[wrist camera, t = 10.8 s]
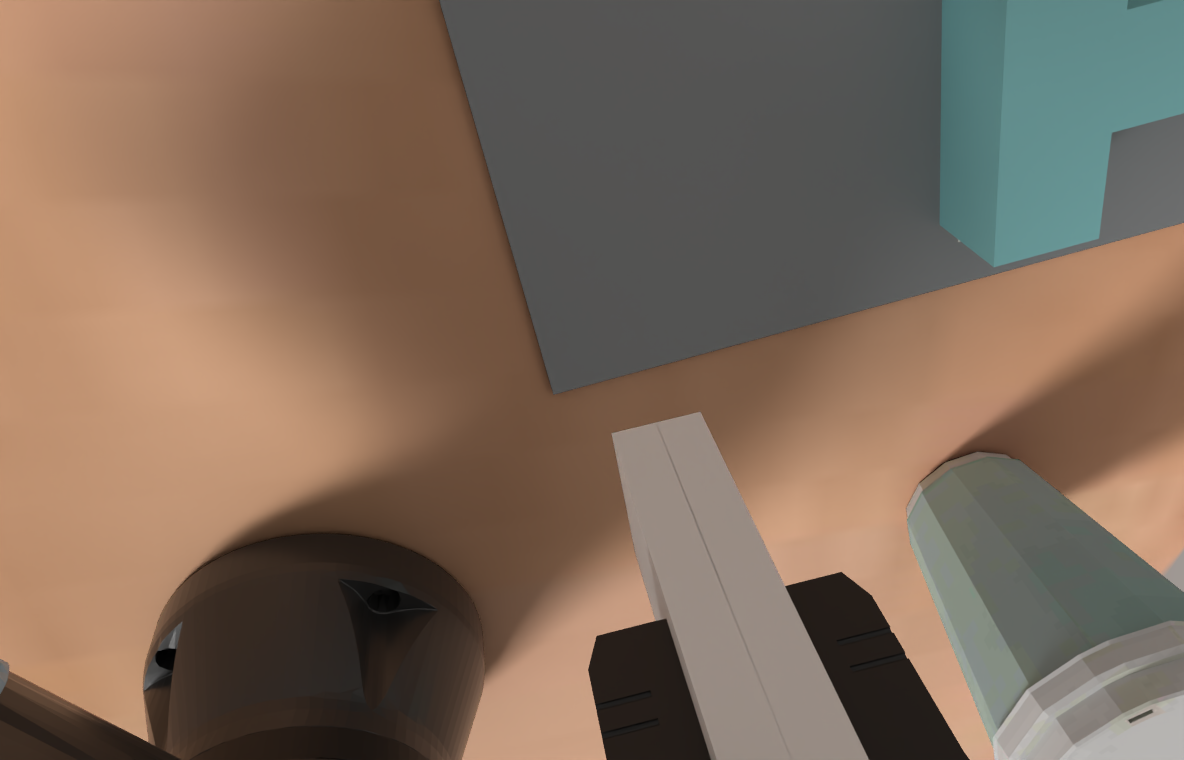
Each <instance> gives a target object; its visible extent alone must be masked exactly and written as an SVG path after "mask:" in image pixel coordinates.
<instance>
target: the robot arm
mask: <svg viewBox="0 0 1184 760" xmlns="http://www.w3.org/2000/svg"><path fill="white" fill-rule="evenodd" d="M612 438H613V443H614V448H615V453H616V459H617V464H618V469H619V474H620V479H621V484H622V489H623V494H624V499H625V504H626V509H627V514H628V519H629V524H630V529H631V534H632V540H633V545H634V550H635V554H636V557H637V561H638V564H639V567H640V570H641V574H642V577H643V580H644V584H645V587H646V590H647V594H648V597H649V600H650V604H651V607H652V610H653V613H654V617H655V620H656V621H654V622H650V623H646V624H642V625H638V626H634V627H630V628H626V629H623V630H619V631H615V632H611V633H607V634H603V635H599V636H597V637H596V641H595V645H594V649H593V653H592V657H591V661H590V665H589V669H588V671H589V676H590V681H591V686H592V691H593V695H594V700H595V705H596V709H597V715H598V720H599V725H600V729H601V734H602V738H603V744H604V749H605V754H606V759H607V760H970V759H969V758H968V757H967V755H966V754H965V753H964V751H963V750H962V748H961V746H960V745H959V743H958V741H957V740H956V738H955V736H954V734H953V733H952V731H951V729H950V728H949V726H948V724H947V723H946V721H945V719H944V717H943V716H942V714H941V712H940V711H939V709H938V707H937V706H936V704H935V702H934V701H933V699H932V697H931V695H930V694H929V692H928V690H927V689H926V687H925V685H924V684H923V682H922V680H921V679H920V677H919V675H918V673H917V672H916V670H915V668H914V667H913V665H912V663H911V662H910V660H909V659H907V658H906V655H905V651H904V650H903V648H902V646H901V645H900V643H899V641H898V640H897V638H896V636H895V634H894V633H892V632H891V630H890V626H889V624H888V623H887V621H886V619H885V618H884V616H883V614H882V612H881V611H880V609H879V607H878V606H877V604H876V602H875V601H874V599H873V597H872V595H870V594H869V593H868V592H866V591H865V590H864V589H863V588H861V587H860V586H859V585H857V584H856V583H855V582H854V581H852V580H851V579H850V578H848V577H847V576H846V575H845V574H843V573H842V572H839V573H836V574H832V575H828V576H824V577H820V578H816V579H812V580H808V581H804V582H800V583H796V584H792V585H788V586H785V585H784V583H783V581H782V579H781V577H780V575H779V573H778V571H777V569H776V567H775V565H774V563H773V561H772V559H771V556H770V554H769V552H768V550H767V548H766V546H765V544H764V542H763V540H762V538H761V536H760V534H759V532H758V530H757V528H756V525H755V523H754V521H753V519H752V517H751V515H750V513H749V511H748V509H747V507H746V505H745V503H744V501H743V499H742V497H741V494H740V492H739V490H738V488H737V486H736V484H735V482H734V480H733V478H732V476H731V474H730V472H729V470H728V468H727V466H726V464H725V461H724V459H723V457H722V455H721V453H720V451H719V449H718V447H717V445H716V443H715V441H714V439H713V437H712V435H711V433H710V430H709V428H708V426H707V424H706V422H705V420H704V418H703V416H702V414H701V412H697V413H693V414H689V415H685V416H680V417H676V418H672V419H668V420H664V421H660V422H656V423H652V424H647V425H643V426H639V427H635V428H631V429H627V430H623V431H618V432H614V433H612ZM484 676H485V660H484V647H483V634H482V627H481V622H480V618H479V616H478V613H477V610H476V608H475V606H474V604H473V602H472V601H471V599H470V597H469V596H468V594H467V593H466V592H465V590H464V589H463V588H462V587H461V586H460V584H459V583H458V582H457V581H456V580H455V579H454V578H453V577H452V576H450V575H449V574H448V573H447V572H446V571H444V570H443V569H442V568H440V567H439V566H437V565H436V564H434V563H433V562H431V561H430V560H428V559H426V558H424V557H423V556H420V555H418V554H416V553H414V552H412V551H410V550H407V549H405V548H402V547H400V546H397V545H394V544H391V543H387V542H383V541H380V540H375V539H371V538H366V537H359V536H353V535H342V534H305V535H294V536H287V537H281V538H275V539H270V540H266V541H262V542H258V543H255V544H252V545H249V546H246V547H243V548H240V549H238V550H235V551H233V552H231V553H228V554H226V555H224V556H222V557H220V558H218V559H216V560H214V561H213V562H211V563H209V564H208V565H206V566H204V567H203V568H201V569H200V570H199V571H197V572H196V573H195V574H193V575H192V576H191V577H190V578H189V579H187V580H186V581H185V582H184V583H183V584H182V585H181V586H180V587H179V588H178V589H177V591H176V592H175V593H174V594H173V595H172V597H171V598H170V600H169V601H168V602H167V604H166V606H165V607H164V609H163V611H162V613H161V615H160V618H159V620H158V623H157V626H156V629H155V632H154V635H153V639H152V642H151V645H150V648H149V651H148V654H147V658H146V662H145V668H144V675H143V695H144V704H145V713H146V722H147V732H148V741H149V743H148V742H146V741H144V740H143V739H141V738H139V737H137V736H135V735H133V734H131V733H129V732H127V731H125V730H123V729H121V728H119V727H117V726H115V725H113V724H111V723H109V722H107V721H105V720H104V719H102V718H100V717H98V716H96V715H94V714H92V713H90V712H88V711H86V710H84V709H82V708H80V707H78V706H76V705H74V704H72V703H70V702H68V701H66V700H65V699H63V698H61V697H59V696H57V695H55V694H53V693H51V692H49V691H47V690H45V689H43V688H41V687H39V686H37V685H35V684H33V683H31V682H29V681H27V680H25V679H24V678H22V677H20V676H18V675H16V674H14V673H12V672H10V671H9V664H8V663H7V662H5V661H3V660H1V659H0V760H462V757H463V754H464V750H465V747H466V744H467V741H468V738H469V734H470V731H471V728H472V725H473V721H474V718H475V715H476V712H477V708H478V705H479V702H480V698H481V695H482V691H483V685H484Z"/></svg>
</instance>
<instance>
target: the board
mask: <svg viewBox="0 0 1184 760" xmlns="http://www.w3.org/2000/svg"><path fill="white" fill-rule="evenodd" d="M439 1H440V5H441V8H442V12H443V15H444V19H445V22H446V25H447V29H448V32H449V36H450V39H451V43H452V46H453V50H454V53H455V57H456V60H457V63H458V67H459V70H460V74H461V77H462V81H463V84H464V88H465V91H466V95H467V98H468V101H469V105H470V108H471V112H472V115H473V119H474V122H475V126H476V129H477V132H478V136H479V139H480V143H481V146H482V150H483V153H484V157H485V160H486V164H487V167H488V170H489V174H490V177H491V181H492V184H493V188H494V191H495V195H496V198H497V201H498V205H499V208H500V212H501V215H502V219H503V222H504V226H505V229H506V233H507V236H508V239H509V243H510V246H511V250H512V253H513V257H514V260H515V264H516V267H517V271H518V274H519V277H520V281H521V284H522V288H523V291H524V295H525V298H526V302H527V305H528V308H529V312H530V315H531V319H532V322H533V326H534V329H535V333H536V336H537V340H538V343H539V346H540V350H541V353H542V357H543V360H544V364H545V367H546V371H547V374H548V378H549V381H550V384H551V388H552V391H553V395H554V394H558V393H562V392H565V391H569V390H573V389H576V388H580V387H584V386H587V385H591V384H595V383H598V382H602V381H606V380H609V379H613V378H617V377H620V376H624V375H628V374H631V373H635V372H639V371H642V370H646V369H650V368H653V367H657V366H661V365H664V364H668V363H672V362H675V361H679V360H683V359H686V358H690V357H694V356H697V355H701V354H705V353H708V352H712V351H716V350H719V349H723V348H727V347H730V346H734V345H738V344H741V343H745V342H749V341H752V340H756V339H760V338H763V337H767V336H771V335H774V334H778V333H782V332H785V331H789V330H793V329H796V328H800V327H804V326H807V325H811V324H814V323H818V322H822V321H825V320H829V319H833V318H836V317H840V316H844V315H847V314H851V313H855V312H858V311H862V310H866V309H869V308H873V307H877V306H880V305H884V304H888V303H891V302H895V301H899V300H902V299H906V298H910V297H913V296H917V295H921V294H924V293H928V292H932V291H935V290H939V289H943V288H946V287H950V286H954V285H957V284H961V283H965V282H968V281H972V280H976V279H979V278H983V277H987V276H990V275H994V274H998V273H1001V272H1005V271H1009V270H1012V269H1016V268H1020V267H1023V266H1027V265H1031V264H1034V263H1038V262H1042V261H1045V260H1049V259H1053V258H1056V257H1060V256H1064V255H1067V254H1071V253H1075V252H1078V251H1082V250H1086V249H1089V248H1093V247H1097V246H1100V245H1104V244H1108V243H1111V242H1115V241H1119V240H1122V239H1126V238H1130V237H1133V236H1137V235H1141V234H1144V233H1148V232H1152V231H1155V230H1159V229H1163V228H1166V227H1170V226H1174V225H1177V224H1181V223H1184V113H1183V114H1179V115H1176V116H1172V117H1168V118H1165V119H1161V120H1157V121H1154V122H1150V123H1146V124H1142V125H1139V126H1135V127H1131V128H1128V129H1124V130H1120V131H1117V132H1113V133H1112V135H1111V144H1110V152H1109V160H1108V168H1107V176H1106V185H1105V193H1104V201H1103V209H1102V217H1101V225H1100V234H1099V239H1096V240H1092V241H1088V242H1085V243H1081V244H1077V245H1074V246H1070V247H1066V248H1063V249H1059V250H1055V251H1052V252H1048V253H1044V254H1041V255H1037V256H1033V257H1030V258H1026V259H1022V260H1019V261H1015V262H1011V263H1008V264H1004V265H1000V266H997V267H993V266H991V265H990V264H989V263H988V262H986V261H985V260H984V259H982V258H981V257H980V256H979V255H977V254H976V253H975V252H974V251H972V250H971V249H970V248H968V247H967V246H966V245H965V244H963V243H962V242H961V241H960V240H958V239H957V238H956V237H954V236H953V235H952V234H951V233H949V232H948V231H947V230H945V229H944V228H943V227H942V226H940V141H941V48H942V0H439Z"/></svg>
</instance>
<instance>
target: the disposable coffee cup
mask: <svg viewBox="0 0 1184 760" xmlns="http://www.w3.org/2000/svg"><path fill="white" fill-rule="evenodd" d="M906 510H907V517H908V519H907V524H908V530H909V537H910V544H911V546H912V549H913V551H914V554H915V556H916V559H917V561H918V564H919V566H920V569H921V571H922V573H923V576H924V578H925V581H926V583H927V586H928V588H929V591H930V593H931V596H932V598H933V601H934V603H935V606H936V608H937V611H938V613H939V615H940V618H941V620H942V623H943V625H944V628H945V630H946V633H947V635H948V638H949V640H950V643H951V645H952V648H953V650H954V652H955V655H956V657H957V660H958V662H959V665H960V667H961V670H962V672H963V675H964V677H965V680H966V682H967V685H968V687H969V690H970V692H971V694H972V697H973V699H974V702H975V704H976V707H977V709H978V712H979V714H980V717H981V719H982V722H983V724H984V727H985V729H986V731H987V734H988V736H989V739H990V741H991V744H992V746H993V749H994V759H995V760H1184V592H1182V591H1181V590H1180V589H1179V588H1178V587H1176V586H1175V585H1174V584H1173V583H1171V582H1170V581H1169V580H1168V579H1166V578H1165V577H1164V576H1163V575H1161V574H1160V573H1159V572H1158V571H1157V570H1155V569H1154V568H1153V567H1152V566H1150V565H1149V564H1148V563H1147V562H1145V561H1144V560H1143V559H1142V558H1140V557H1139V556H1138V555H1137V554H1135V553H1134V552H1133V551H1132V550H1131V549H1129V548H1128V547H1127V546H1126V545H1124V544H1123V543H1122V542H1121V541H1119V540H1118V539H1117V538H1116V537H1114V536H1113V535H1112V534H1111V533H1109V532H1108V531H1107V530H1106V529H1105V528H1103V527H1102V526H1101V525H1100V524H1098V523H1097V522H1096V521H1095V520H1093V519H1092V518H1091V517H1090V516H1088V515H1087V514H1086V513H1085V512H1083V511H1082V510H1081V509H1080V508H1078V507H1077V506H1076V505H1075V504H1074V503H1072V502H1071V501H1070V500H1069V499H1067V498H1066V497H1065V496H1064V495H1062V494H1061V493H1060V492H1059V491H1057V490H1056V489H1055V488H1054V487H1052V486H1051V485H1050V484H1049V483H1048V482H1046V481H1045V480H1044V479H1043V478H1041V477H1040V476H1039V475H1038V474H1036V473H1035V472H1034V471H1033V470H1031V469H1030V468H1029V467H1028V466H1026V465H1025V464H1024V463H1023V462H1022V461H1020V460H1019V459H1011V458H1010V457H1009V456H1007V455H1006V454H996V453H986V452H975V453H972V454H969V455H966V456H963V457H960V458H957V459H954V460H951V461H948V462H945V463H944V464H943V465H942V466H940V467H939V468H938V469H937V470H935V471H934V472H933V473H932V474H930V475H929V476H928V477H927V478H925V479H924V480H923V481H922V482H920V483H919V485H918V487H917V489H916V491H915V492H914V494H913V496H912V498H911V500H910V502H909V504H908V506H907V508H906Z"/></svg>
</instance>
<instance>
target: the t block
mask: <svg viewBox="0 0 1184 760" xmlns="http://www.w3.org/2000/svg"><path fill="white" fill-rule="evenodd" d="M1183 113H1184V0H942V48H941V141H940V226H942V227H943V228H944V229H945V230H947V231H948V232H949V233H951V234H952V235H953V236H954V237H956V238H957V239H958V240H960V241H961V242H962V243H963V244H965V245H966V246H967V247H968V248H970V249H971V250H972V251H974V252H975V253H976V254H977V255H979V256H980V257H981V258H982V259H984V260H985V261H986V262H988V263H989V264H990V265H991V266H993V267H997V266H1000V265H1004V264H1008V263H1011V262H1015V261H1019V260H1022V259H1026V258H1030V257H1033V256H1037V255H1041V254H1044V253H1048V252H1052V251H1055V250H1059V249H1063V248H1066V247H1070V246H1074V245H1077V244H1081V243H1085V242H1088V241H1092V240H1096V239H1099V234H1100V225H1101V217H1102V209H1103V201H1104V193H1105V185H1106V176H1107V168H1108V160H1109V152H1110V144H1111V135H1112V133H1113V132H1117V131H1120V130H1124V129H1128V128H1131V127H1135V126H1139V125H1142V124H1146V123H1150V122H1154V121H1157V120H1161V119H1165V118H1168V117H1172V116H1176V115H1179V114H1183Z"/></svg>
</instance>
